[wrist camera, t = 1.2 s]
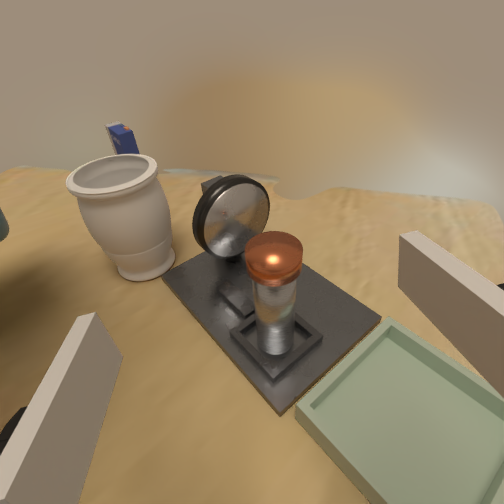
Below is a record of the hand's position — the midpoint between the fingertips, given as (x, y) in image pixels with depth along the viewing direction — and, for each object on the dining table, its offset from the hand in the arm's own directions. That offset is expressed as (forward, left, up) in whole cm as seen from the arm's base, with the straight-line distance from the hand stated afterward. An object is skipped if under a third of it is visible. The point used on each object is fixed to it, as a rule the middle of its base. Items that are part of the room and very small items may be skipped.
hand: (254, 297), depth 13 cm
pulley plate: (-13, +11, -20) cm, 27 cm away
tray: (+7, +11, -20) cm, 24 cm away
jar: (-30, +3, -21) cm, 37 cm away
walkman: (-56, +12, -21) cm, 61 cm away
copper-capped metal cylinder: (-7, +8, -19) cm, 22 cm away
